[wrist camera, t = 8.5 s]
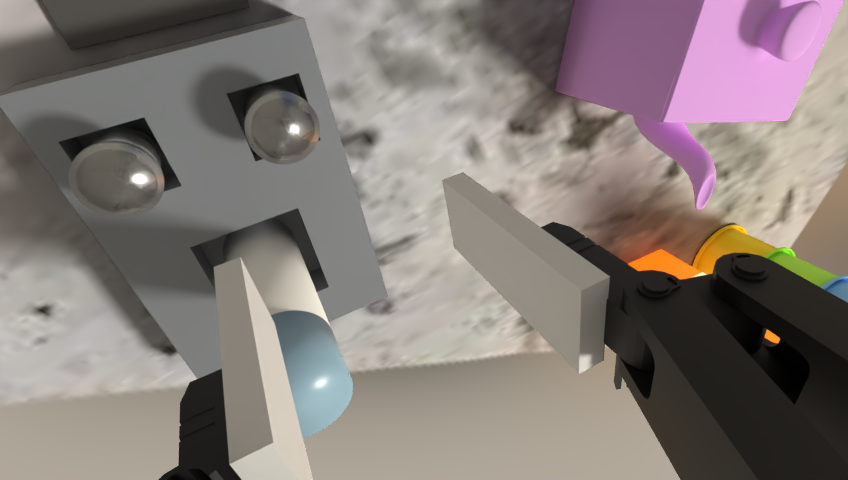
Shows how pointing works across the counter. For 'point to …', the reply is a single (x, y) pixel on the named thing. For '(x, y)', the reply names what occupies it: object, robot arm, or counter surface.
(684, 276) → the orange juice
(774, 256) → the stacking cups
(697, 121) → the teapot
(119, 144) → the chrome dome knob
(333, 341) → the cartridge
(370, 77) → the counter surface
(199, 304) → the housing
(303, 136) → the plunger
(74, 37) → the mat
